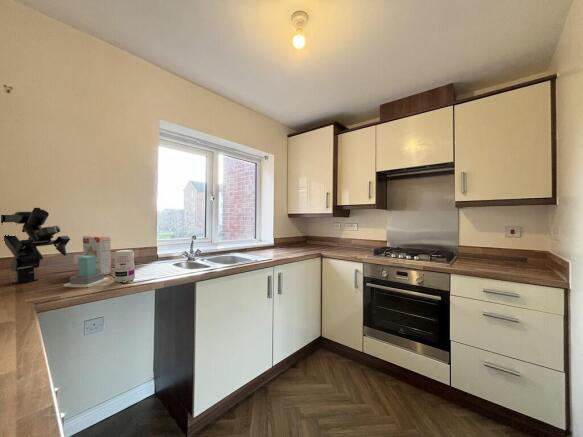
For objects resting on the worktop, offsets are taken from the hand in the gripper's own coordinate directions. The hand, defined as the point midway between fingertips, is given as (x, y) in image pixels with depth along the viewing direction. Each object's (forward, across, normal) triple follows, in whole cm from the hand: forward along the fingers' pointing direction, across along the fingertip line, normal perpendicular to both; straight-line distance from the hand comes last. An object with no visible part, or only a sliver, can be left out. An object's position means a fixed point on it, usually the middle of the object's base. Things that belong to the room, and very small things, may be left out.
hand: (54, 256), depth 116 cm
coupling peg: (+16, +7, +2) cm, 18 cm away
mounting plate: (+17, +7, +2) cm, 18 cm away
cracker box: (+8, +22, +11) cm, 26 cm away
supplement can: (+26, +15, -7) cm, 31 cm away
